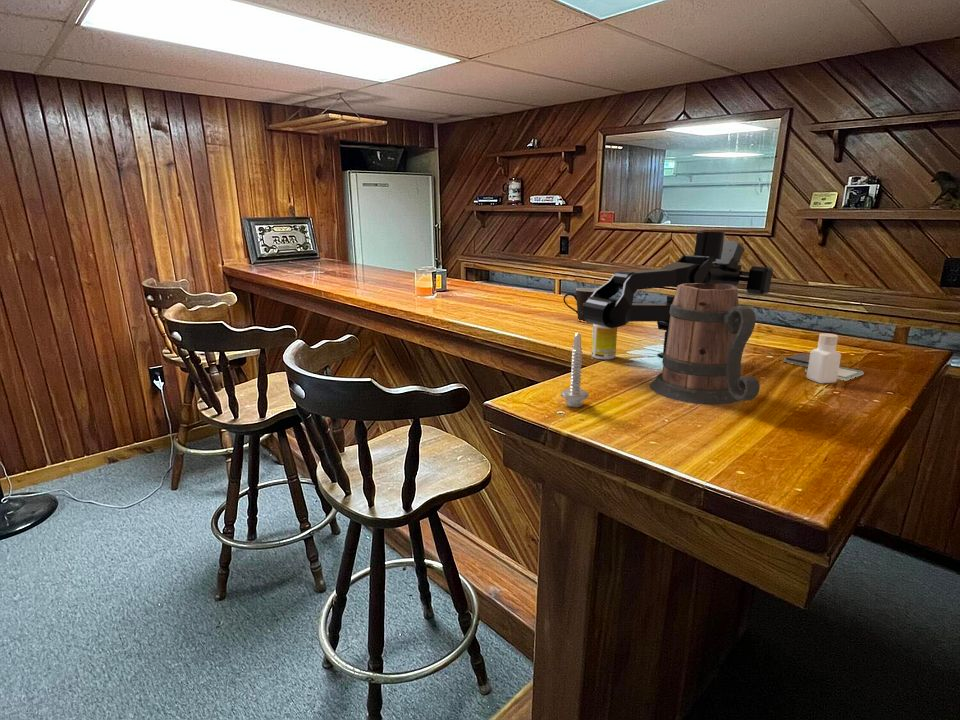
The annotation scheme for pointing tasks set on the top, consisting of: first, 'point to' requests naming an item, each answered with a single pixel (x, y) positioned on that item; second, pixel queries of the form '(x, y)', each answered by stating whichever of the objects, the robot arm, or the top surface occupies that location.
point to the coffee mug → (581, 300)
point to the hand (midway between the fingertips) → (751, 278)
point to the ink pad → (798, 359)
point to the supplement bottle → (604, 342)
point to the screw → (575, 377)
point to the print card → (846, 373)
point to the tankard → (706, 347)
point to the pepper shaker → (824, 360)
